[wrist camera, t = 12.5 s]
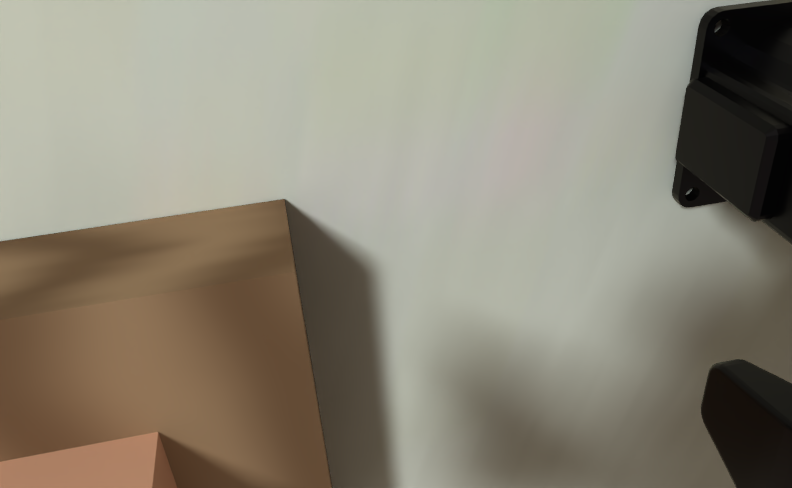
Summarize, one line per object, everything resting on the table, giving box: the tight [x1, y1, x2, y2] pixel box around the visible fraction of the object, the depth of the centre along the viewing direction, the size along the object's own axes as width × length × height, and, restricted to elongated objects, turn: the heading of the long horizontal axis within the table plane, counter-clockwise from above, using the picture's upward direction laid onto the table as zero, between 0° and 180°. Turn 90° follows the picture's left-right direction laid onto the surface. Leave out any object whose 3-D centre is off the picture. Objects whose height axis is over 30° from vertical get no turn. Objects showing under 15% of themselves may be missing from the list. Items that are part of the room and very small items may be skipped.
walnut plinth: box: [0, 199, 332, 488], centre depth 23 cm, size 14×14×4 cm
